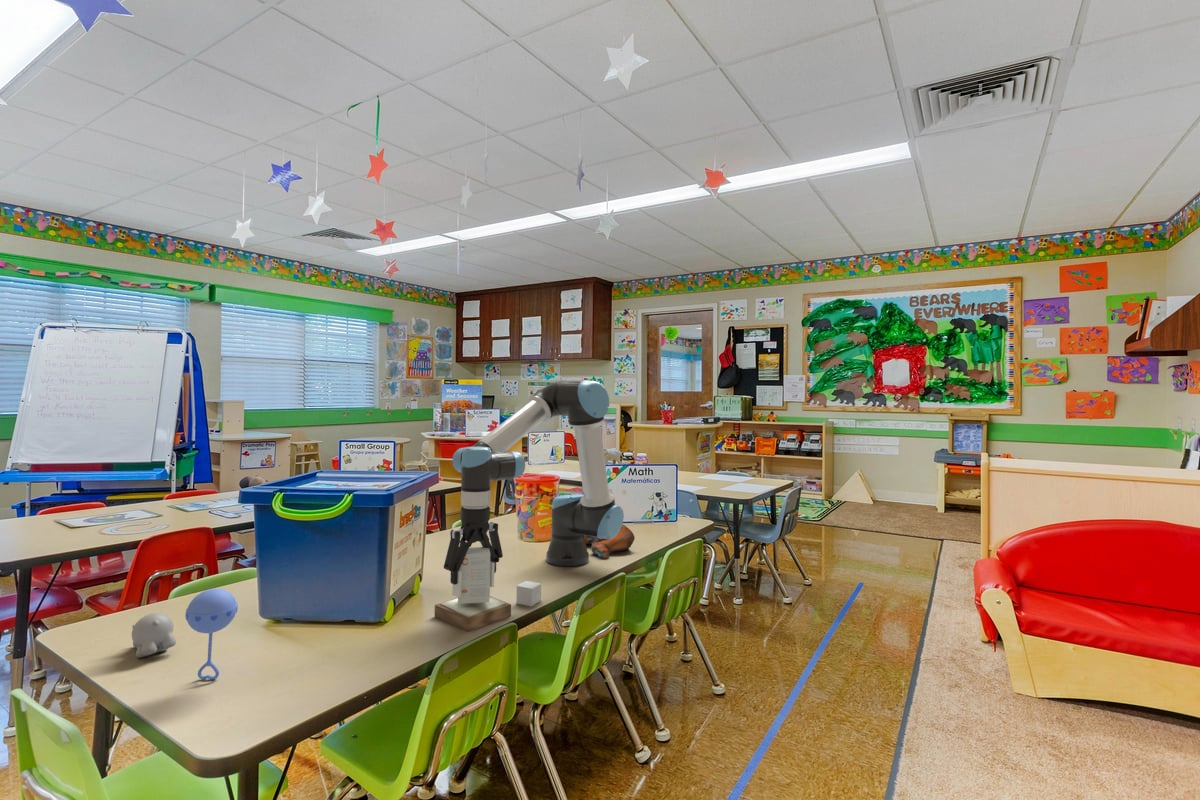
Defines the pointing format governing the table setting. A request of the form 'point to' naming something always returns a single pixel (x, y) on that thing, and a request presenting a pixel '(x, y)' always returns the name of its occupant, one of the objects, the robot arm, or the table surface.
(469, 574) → the small box
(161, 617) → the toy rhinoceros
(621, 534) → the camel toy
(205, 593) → the baby rattle
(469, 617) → the stand
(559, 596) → the table surface
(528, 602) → the grey cube
